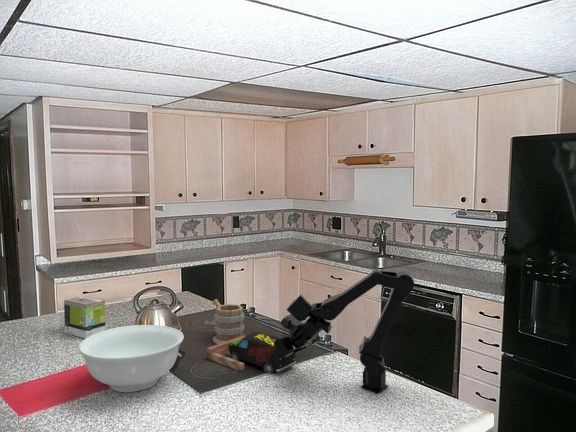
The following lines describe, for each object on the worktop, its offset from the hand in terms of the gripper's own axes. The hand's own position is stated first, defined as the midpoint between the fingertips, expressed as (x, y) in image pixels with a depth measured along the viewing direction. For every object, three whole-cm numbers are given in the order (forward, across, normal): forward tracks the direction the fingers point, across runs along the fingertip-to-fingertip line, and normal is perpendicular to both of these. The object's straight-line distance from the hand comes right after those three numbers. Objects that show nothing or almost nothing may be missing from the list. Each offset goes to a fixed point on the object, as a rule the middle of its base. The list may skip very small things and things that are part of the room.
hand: (283, 353), depth 164 cm
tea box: (+70, +23, -59) cm, 95 cm away
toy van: (+13, -1, -3) cm, 14 cm away
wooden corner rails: (+20, 0, -10) cm, 22 cm away
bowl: (+28, +38, -18) cm, 50 cm away
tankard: (+34, -11, -24) cm, 43 cm away
